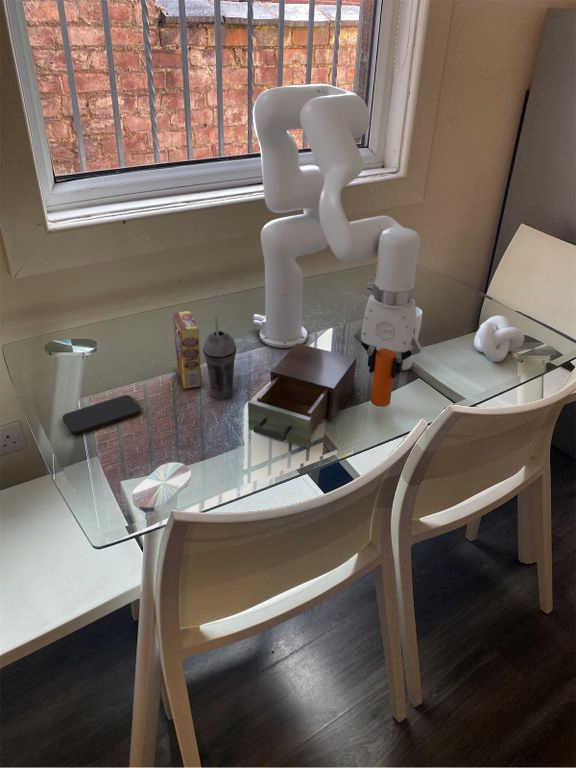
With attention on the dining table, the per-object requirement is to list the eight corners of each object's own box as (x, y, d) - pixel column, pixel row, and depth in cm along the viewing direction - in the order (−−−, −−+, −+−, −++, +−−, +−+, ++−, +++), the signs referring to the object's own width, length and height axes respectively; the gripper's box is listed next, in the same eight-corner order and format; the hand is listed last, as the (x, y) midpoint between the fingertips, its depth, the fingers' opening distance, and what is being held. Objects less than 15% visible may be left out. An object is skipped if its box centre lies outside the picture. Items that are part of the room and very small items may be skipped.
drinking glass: (414, 374, 145) (422, 319, 136) (385, 371, 146) (392, 315, 138) (414, 360, 150) (423, 306, 142) (387, 357, 151) (394, 303, 143)
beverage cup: (243, 387, 139) (240, 309, 128) (230, 405, 133) (226, 325, 122) (214, 381, 141) (209, 304, 130) (200, 398, 135) (194, 319, 124)
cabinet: (331, 421, 129) (333, 388, 124) (270, 403, 134) (270, 371, 129) (353, 389, 139) (356, 358, 134) (296, 374, 144) (296, 343, 139)
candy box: (203, 386, 139) (199, 328, 131) (184, 389, 138) (179, 331, 129) (194, 366, 146) (190, 310, 138) (177, 369, 145) (171, 312, 136)
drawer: (299, 460, 117) (299, 432, 113) (238, 440, 121) (237, 413, 118) (331, 414, 129) (333, 388, 126) (275, 398, 134) (275, 372, 130)
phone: (141, 410, 130) (71, 433, 122) (142, 413, 130) (72, 436, 123) (128, 393, 135) (60, 414, 127) (129, 396, 135) (61, 418, 128)
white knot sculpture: (459, 344, 157) (465, 314, 152) (498, 338, 160) (505, 308, 155) (483, 366, 148) (491, 335, 143) (524, 359, 151) (533, 328, 146)
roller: (368, 403, 130) (373, 356, 124) (374, 394, 134) (379, 347, 127) (386, 408, 129) (392, 361, 122) (392, 398, 132) (398, 351, 125)
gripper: (345, 291, 117) (340, 371, 127) (431, 309, 111) (418, 391, 121) (359, 278, 123) (352, 355, 133) (440, 294, 117) (427, 373, 127)
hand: (383, 371), depth 127 cm, fingers closed on roller, 4 cm apart
